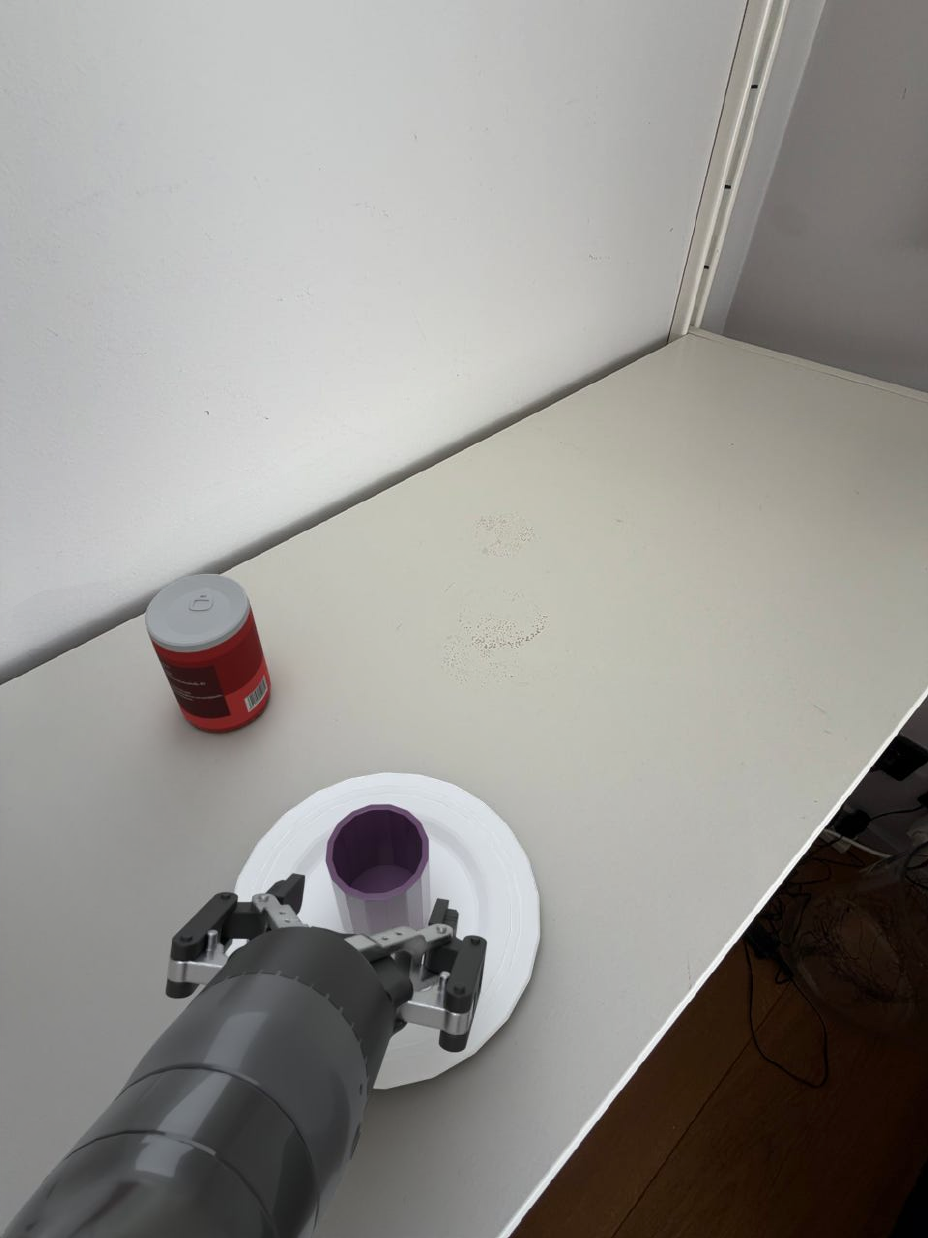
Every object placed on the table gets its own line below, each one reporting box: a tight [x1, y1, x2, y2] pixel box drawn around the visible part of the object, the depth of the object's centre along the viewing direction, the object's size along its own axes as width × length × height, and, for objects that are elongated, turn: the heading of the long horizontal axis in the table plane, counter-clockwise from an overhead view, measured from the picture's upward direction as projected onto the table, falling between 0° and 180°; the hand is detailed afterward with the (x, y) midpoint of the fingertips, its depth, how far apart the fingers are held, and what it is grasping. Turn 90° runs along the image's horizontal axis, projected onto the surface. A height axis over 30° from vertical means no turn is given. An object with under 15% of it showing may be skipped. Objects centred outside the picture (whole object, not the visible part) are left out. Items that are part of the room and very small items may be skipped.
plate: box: [225, 771, 541, 1091], centre depth 48 cm, size 21×21×2 cm
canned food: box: [144, 573, 272, 733], centre depth 58 cm, size 8×8×11 cm
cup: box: [325, 804, 430, 936], centre depth 44 cm, size 6×6×8 cm
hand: (368, 902), depth 41 cm, fingers open, 8 cm apart
